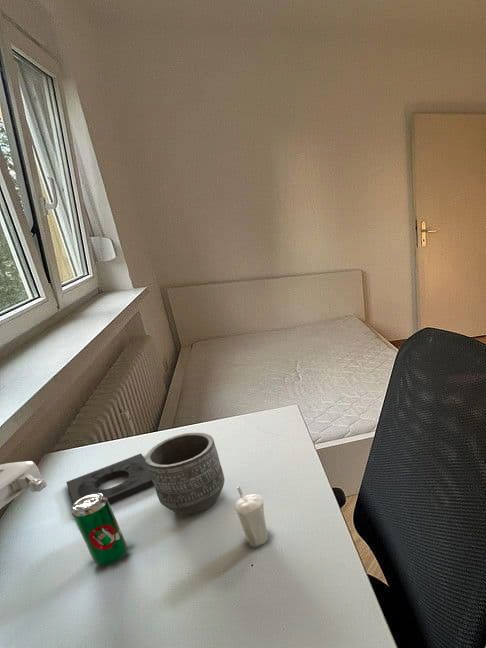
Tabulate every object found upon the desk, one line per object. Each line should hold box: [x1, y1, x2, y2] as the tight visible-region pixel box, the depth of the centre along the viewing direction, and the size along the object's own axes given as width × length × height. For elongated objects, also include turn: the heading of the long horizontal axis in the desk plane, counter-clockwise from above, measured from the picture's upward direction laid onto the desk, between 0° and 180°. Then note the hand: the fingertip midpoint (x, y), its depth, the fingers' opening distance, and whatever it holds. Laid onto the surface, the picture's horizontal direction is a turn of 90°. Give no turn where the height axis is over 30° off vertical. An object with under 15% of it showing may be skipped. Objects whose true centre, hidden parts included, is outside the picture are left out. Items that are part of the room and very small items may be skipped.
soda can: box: [71, 493, 128, 567], centre depth 75 cm, size 5×5×12 cm
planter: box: [144, 432, 226, 517], centre depth 87 cm, size 12×12×13 cm
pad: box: [66, 453, 155, 505], centre depth 96 cm, size 15×14×2 cm
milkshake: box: [234, 486, 268, 548], centre depth 77 cm, size 4×5×10 cm
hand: (20, 502), depth 73 cm, fingers open, 8 cm apart
